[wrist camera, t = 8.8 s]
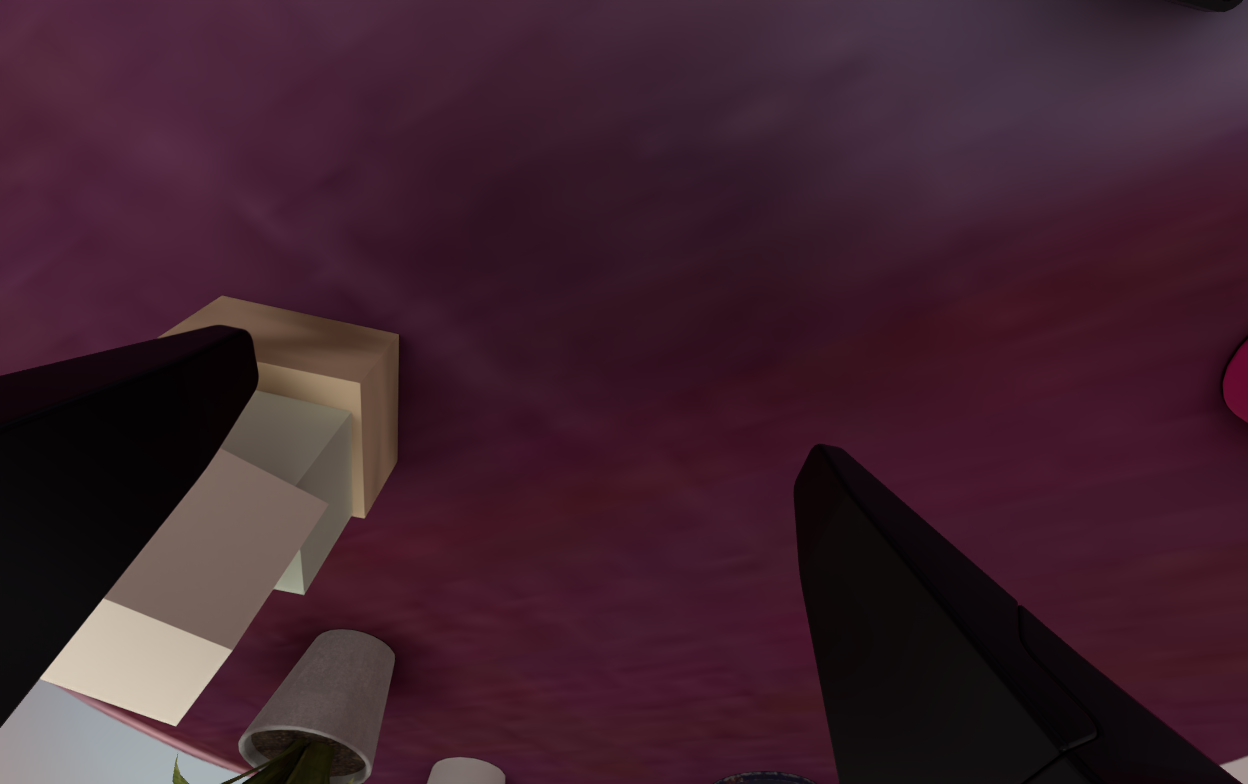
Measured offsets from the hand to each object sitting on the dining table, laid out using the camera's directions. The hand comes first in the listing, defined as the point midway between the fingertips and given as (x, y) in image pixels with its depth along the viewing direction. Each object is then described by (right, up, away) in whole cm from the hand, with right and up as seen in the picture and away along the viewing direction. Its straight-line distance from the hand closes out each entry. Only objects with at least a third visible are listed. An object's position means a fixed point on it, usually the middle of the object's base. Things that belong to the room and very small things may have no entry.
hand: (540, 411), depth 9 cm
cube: (-11, -4, +9) cm, 15 cm away
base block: (-12, +1, +16) cm, 20 cm away
